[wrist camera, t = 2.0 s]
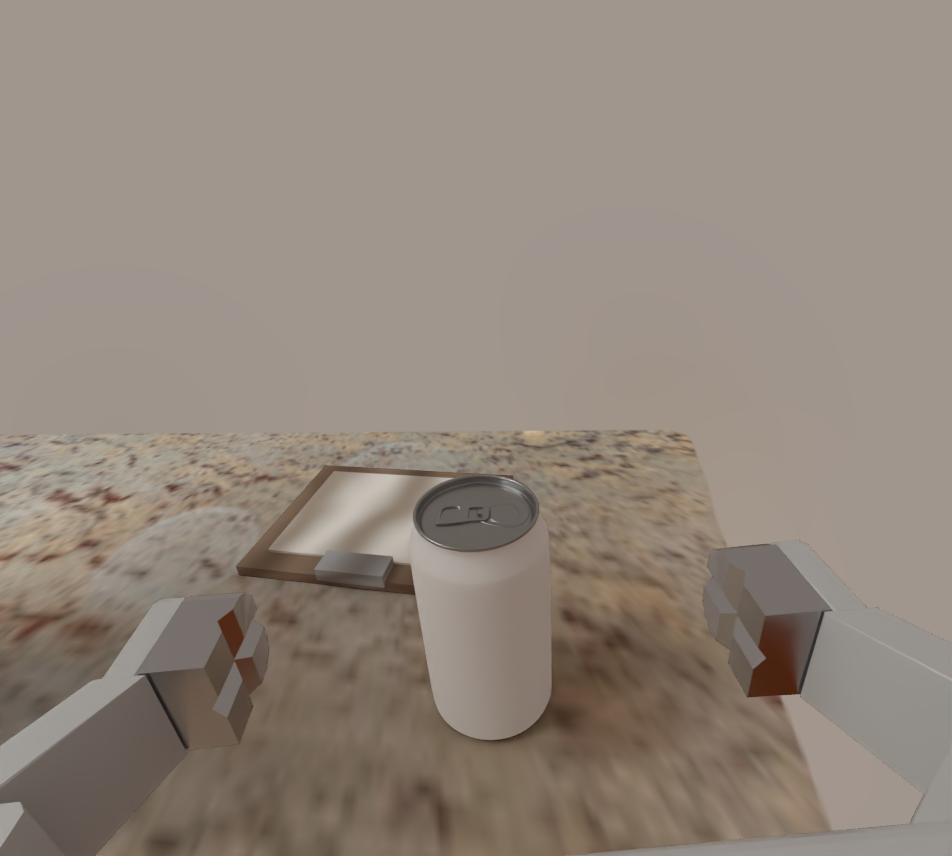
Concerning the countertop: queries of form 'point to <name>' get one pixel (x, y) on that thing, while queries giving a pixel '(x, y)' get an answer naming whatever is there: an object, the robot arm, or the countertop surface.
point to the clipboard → (347, 530)
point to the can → (484, 603)
